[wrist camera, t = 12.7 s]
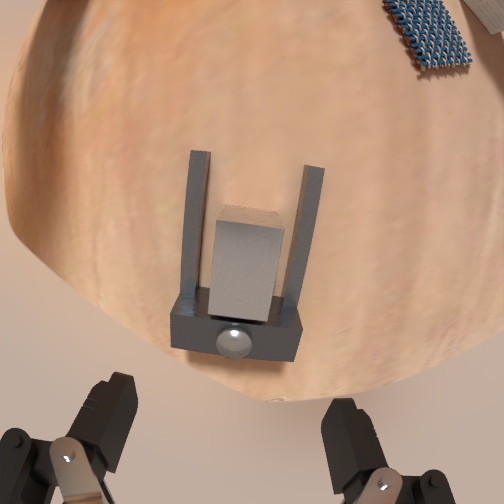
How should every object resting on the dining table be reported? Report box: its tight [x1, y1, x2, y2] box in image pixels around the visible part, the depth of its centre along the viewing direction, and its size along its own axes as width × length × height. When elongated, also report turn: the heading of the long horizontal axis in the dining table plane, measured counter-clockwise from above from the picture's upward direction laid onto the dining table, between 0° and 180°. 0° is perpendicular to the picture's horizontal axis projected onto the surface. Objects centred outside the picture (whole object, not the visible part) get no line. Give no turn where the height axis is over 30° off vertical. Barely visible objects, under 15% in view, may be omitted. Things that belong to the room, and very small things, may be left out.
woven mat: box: [382, 0, 472, 72], centre depth 19 cm, size 10×11×2 cm
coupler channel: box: [170, 150, 325, 362], centre depth 25 cm, size 12×18×7 cm, turn 172°
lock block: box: [208, 205, 284, 321], centre depth 25 cm, size 5×8×7 cm, turn 172°
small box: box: [463, 0, 504, 35], centre depth 11 cm, size 8×6×10 cm
